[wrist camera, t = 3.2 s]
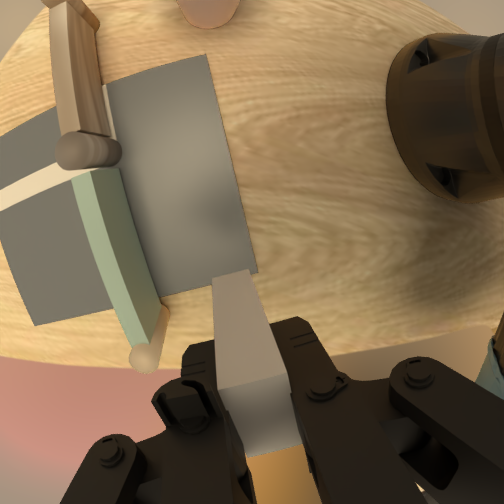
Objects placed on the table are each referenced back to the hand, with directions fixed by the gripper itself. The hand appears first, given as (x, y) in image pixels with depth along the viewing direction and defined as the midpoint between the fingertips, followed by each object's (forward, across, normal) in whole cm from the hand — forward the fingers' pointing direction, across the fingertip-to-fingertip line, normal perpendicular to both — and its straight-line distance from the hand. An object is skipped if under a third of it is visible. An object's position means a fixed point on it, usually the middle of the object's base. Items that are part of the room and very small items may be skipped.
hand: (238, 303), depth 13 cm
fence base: (+10, +6, -14) cm, 18 cm away
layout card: (+10, +8, -5) cm, 14 cm away
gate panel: (+9, +6, -1) cm, 11 cm away
